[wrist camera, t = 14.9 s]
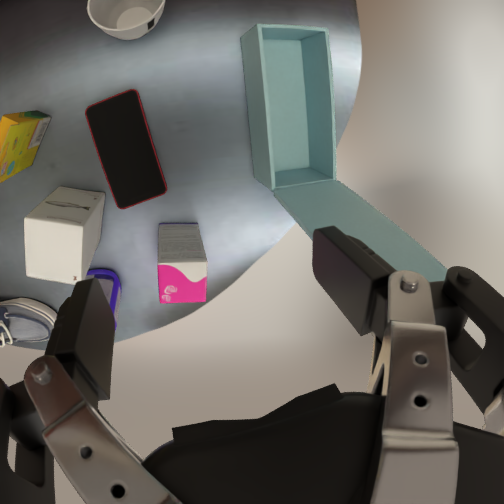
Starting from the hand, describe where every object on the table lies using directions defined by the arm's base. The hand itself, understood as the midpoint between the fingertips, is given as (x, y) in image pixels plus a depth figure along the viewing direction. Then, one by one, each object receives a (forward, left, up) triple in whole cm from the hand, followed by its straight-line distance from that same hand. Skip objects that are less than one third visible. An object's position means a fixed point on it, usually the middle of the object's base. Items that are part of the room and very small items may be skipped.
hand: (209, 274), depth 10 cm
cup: (-18, +6, -31) cm, 37 cm away
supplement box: (+11, -8, -31) cm, 34 cm away
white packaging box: (-2, -16, -31) cm, 35 cm away
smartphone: (-4, -5, -31) cm, 32 cm away
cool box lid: (+13, +10, -12) cm, 20 cm away
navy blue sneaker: (-1, -42, -31) cm, 52 cm away
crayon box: (-15, -14, -31) cm, 37 cm away
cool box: (+3, +15, -31) cm, 35 cm away
